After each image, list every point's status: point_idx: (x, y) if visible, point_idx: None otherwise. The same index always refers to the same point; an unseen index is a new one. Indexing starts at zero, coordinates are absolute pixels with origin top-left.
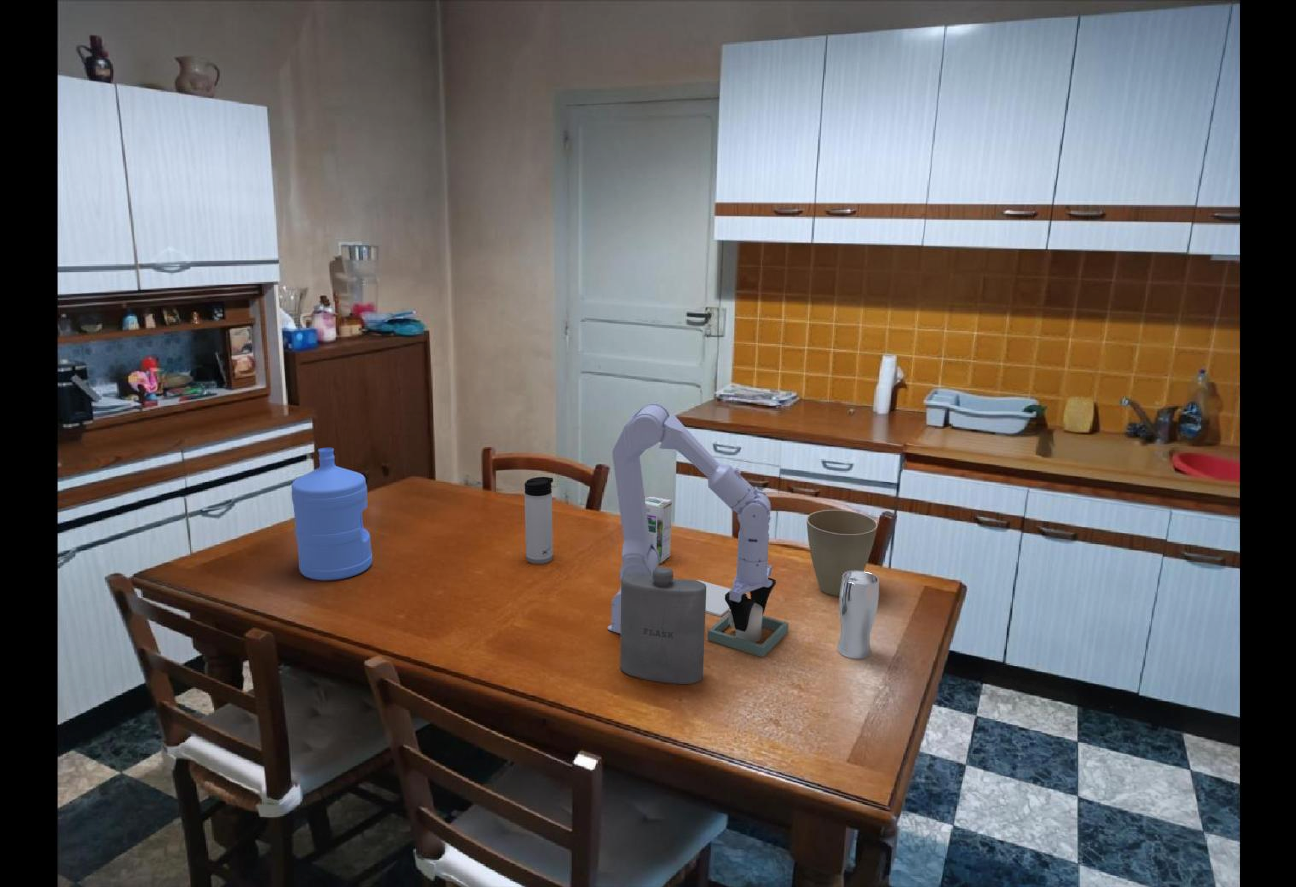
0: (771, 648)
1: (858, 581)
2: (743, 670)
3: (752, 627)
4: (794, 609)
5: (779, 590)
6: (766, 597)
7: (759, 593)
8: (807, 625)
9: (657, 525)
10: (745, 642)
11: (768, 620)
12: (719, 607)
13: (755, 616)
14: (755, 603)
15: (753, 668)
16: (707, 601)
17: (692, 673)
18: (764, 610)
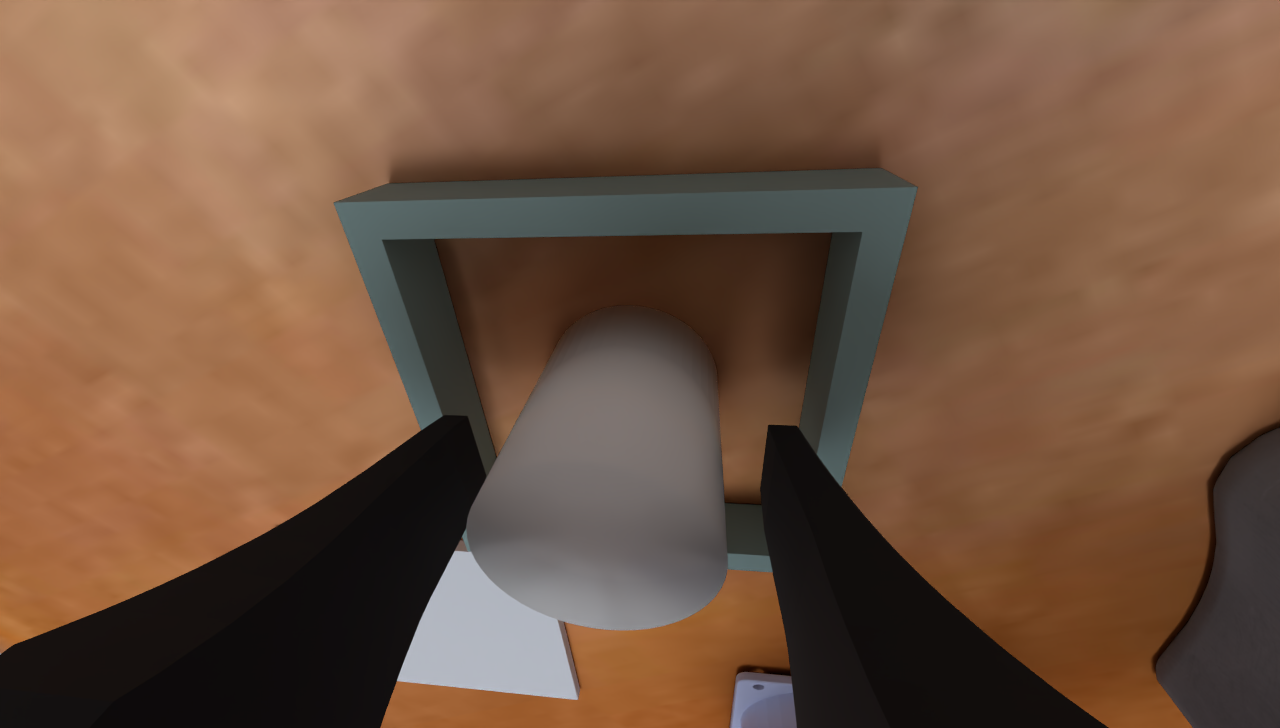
0: (707, 174)
1: None
2: (1159, 213)
3: (695, 403)
4: (114, 285)
5: (71, 434)
6: (336, 539)
7: (355, 621)
8: (165, 92)
9: None
10: (870, 359)
11: (428, 353)
12: (484, 578)
13: (676, 465)
14: (471, 546)
15: (1102, 155)
16: (480, 621)
17: None
18: (418, 432)
